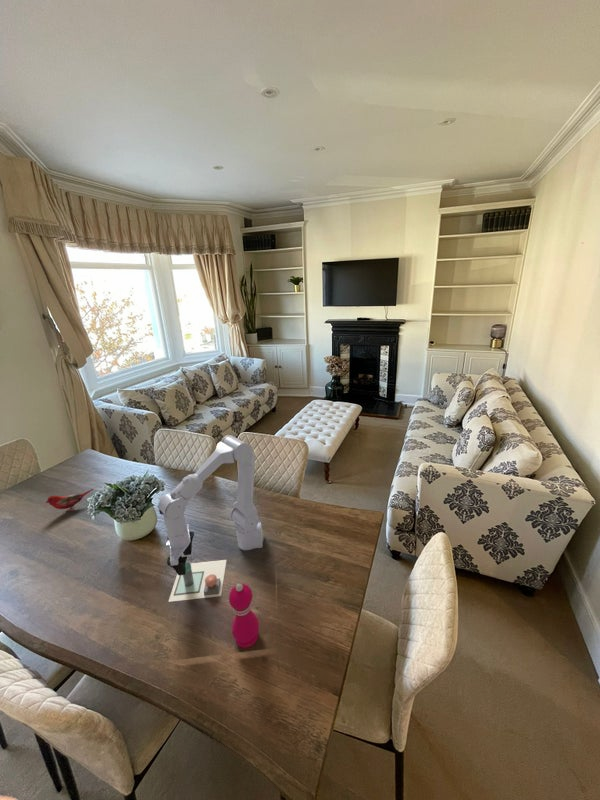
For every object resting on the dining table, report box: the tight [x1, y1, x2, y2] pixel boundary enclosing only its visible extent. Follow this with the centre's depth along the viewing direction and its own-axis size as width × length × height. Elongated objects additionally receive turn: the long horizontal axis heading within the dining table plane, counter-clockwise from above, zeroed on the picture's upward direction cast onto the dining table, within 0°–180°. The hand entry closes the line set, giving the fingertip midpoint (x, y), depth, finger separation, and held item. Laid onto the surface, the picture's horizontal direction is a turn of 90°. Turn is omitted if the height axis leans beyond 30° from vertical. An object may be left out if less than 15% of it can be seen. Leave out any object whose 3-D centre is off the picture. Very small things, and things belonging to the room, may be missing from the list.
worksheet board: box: [168, 559, 227, 603], centre depth 107 cm, size 16×14×2 cm
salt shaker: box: [183, 562, 194, 587], centre depth 105 cm, size 3×3×7 cm
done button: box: [205, 574, 217, 587], centre depth 103 cm, size 4×4×3 cm
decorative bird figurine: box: [45, 488, 94, 513], centre depth 145 cm, size 3×18×10 cm, turn 131°
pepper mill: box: [228, 583, 260, 648], centre depth 86 cm, size 7×7×20 cm
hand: (185, 563), depth 103 cm, fingers open, 7 cm apart
